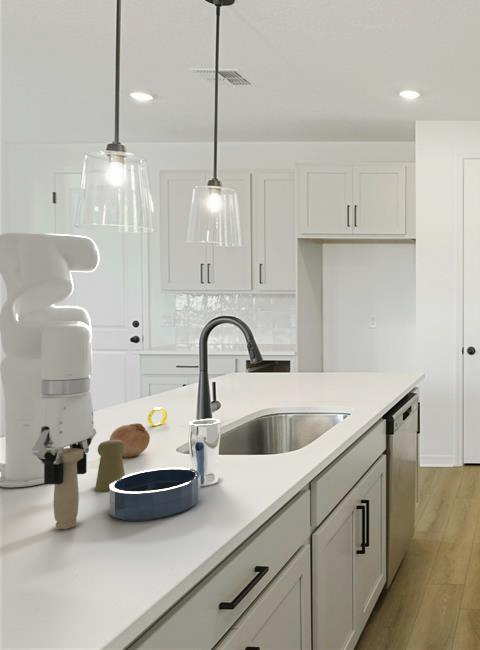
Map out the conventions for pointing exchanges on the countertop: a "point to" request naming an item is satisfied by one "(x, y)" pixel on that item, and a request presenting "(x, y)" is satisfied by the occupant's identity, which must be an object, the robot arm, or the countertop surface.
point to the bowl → (154, 494)
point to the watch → (153, 412)
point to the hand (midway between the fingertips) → (65, 477)
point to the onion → (132, 439)
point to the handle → (67, 490)
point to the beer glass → (205, 449)
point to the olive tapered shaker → (109, 464)
